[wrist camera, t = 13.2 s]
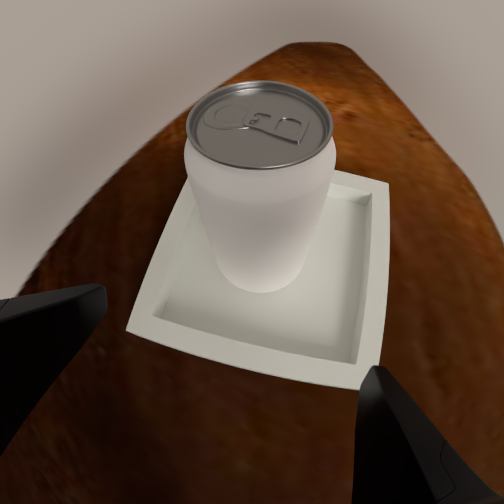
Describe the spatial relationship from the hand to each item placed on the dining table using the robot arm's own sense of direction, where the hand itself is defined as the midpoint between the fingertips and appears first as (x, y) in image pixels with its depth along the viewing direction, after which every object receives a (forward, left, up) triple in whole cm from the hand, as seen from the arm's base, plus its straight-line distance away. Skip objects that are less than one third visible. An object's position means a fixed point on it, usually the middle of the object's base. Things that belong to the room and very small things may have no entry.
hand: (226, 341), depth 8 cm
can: (+8, +1, -10) cm, 13 cm away
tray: (+8, 0, -11) cm, 13 cm away
